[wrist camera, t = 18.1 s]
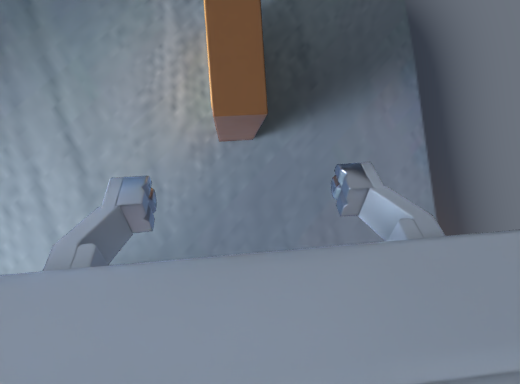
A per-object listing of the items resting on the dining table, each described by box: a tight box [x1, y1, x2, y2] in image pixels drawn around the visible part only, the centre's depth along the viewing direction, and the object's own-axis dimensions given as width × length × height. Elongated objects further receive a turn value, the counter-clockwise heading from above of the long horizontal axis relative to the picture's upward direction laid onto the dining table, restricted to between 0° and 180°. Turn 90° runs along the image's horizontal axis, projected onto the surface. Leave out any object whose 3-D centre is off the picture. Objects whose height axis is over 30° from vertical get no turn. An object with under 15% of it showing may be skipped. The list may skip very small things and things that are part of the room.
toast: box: [204, 0, 268, 141], centre depth 18 cm, size 8×2×8 cm, turn 4°
